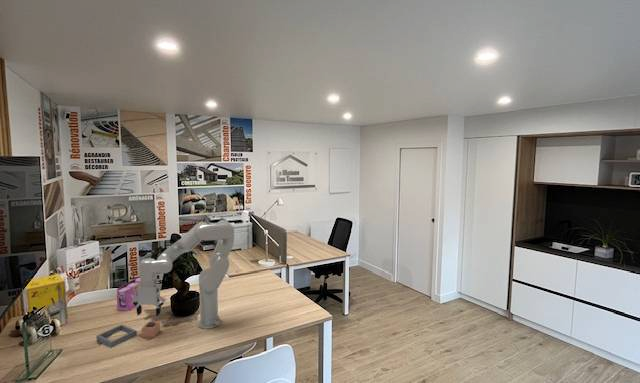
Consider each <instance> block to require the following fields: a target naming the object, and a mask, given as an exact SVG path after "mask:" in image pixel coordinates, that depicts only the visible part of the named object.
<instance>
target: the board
mask: <svg viewBox="0 0 640 383" xmlns="http://www.w3.org/2000/svg"><path fill="white" fill-rule="evenodd" d="M148 322H149V323H148V327H153V324H154V322H155V321H148ZM164 333H165V332H164V331H162V330H160V332H159V333H158V334H157V335H156V336H155V337H142V333H140V334H139V335H138V334H137V336H138V337H140V338H142V339H145V340H147V341H150V340H153V339H155V338H157V337H158V336H161V335H162V334H164Z"/></svg>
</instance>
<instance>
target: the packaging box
mask: <svg viewBox="0 0 640 383" xmlns="http://www.w3.org/2000/svg"><path fill="white" fill-rule="evenodd" d="M30 280H31V281H30V282H29V284H28V285H27V286H26V287H25V289H24V290H23V289H22V299H23V310H24V314H25V313H26V312H31V311H32V310H33V307H36V308H37V309H40V308H42V307H44V306H46V307H45V308H44V309H43V310H46V311H47V312H48V314H49V317H50V319H57V320H59V321H60V323H61V325H62V326H66V325H68V324H69V317H68V304H67V303H68V302H67V289H66V288H67V286H66V281H65V279H64V278H63V277H62V276H61V275H60V274H59V273H57V274H52V275H48V276H43V277H38V278H34V279H30ZM65 324H66V325H65ZM62 326H61V327H62Z"/></svg>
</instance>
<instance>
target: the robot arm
mask: <svg viewBox="0 0 640 383" xmlns="http://www.w3.org/2000/svg"><path fill="white" fill-rule="evenodd" d="M202 241H217V243H216V244H215V245H216V246H215V248H214V250H213V251H212V254H210V257H209V258H208V264H209V268H204V269H203V270H201V272H200V273H199V275H198V287H199V310H200V311H199V312H200V314H199V315H200V317H199V318H200V320H199V321H197V327H198V328H200V329H204V330H208V329H214V328H217V327H218V326H221V324H222V322H223V320H222V319H221V317H220V315H219V302H218V301H219V299H218V298H219V295H218V293H219V292H218V289H219V287H220V285H221V284H222V282H223V280H224V278H225V277H226V275H227V273H228V271H229V267H230V260H229V259H228V258H229V255H230V254H231V251H232V249H233V246H234V244H235V228H234V226H233V225H232V224H231V223H230V222H229V221H228V220H226V219H222V220H219V221H218V222H216V224H209V223H207V222H205V221H199V222H198V223H196V224H195V225H194V226H193V227H192V228H191V229H189V230H188V231H187V232H186V233H185V234H183V236H182V237H181V238H180V239H178V240H177V241H175V242H174V243H172V244H170V246H168V247H167V248H166V249H165V250H164V251H163V252H162V253H161V254H160V255H159V256H157V259H155V258H152V257H151V258H143V259H141V261H140V262H139V276H140V286H139V289H138V296H136V297H134V298H132V299H131V300H132V302H133V304H134V305H135V307H134V308H136V314H137V316H140V315H141V314H142V312H143V310H142V309H143V307H142V305H143V306H144V305H145V306H146V305H147V306H155V316H156V317H158V316H159V315H160V314H161V313H162V310H161V309H162V308H161V307H162V306H163V305H164V304H165V302H166V298H164V297H162V296H161V291H160V286H159V283H160V281H159V280H158V279H157V274H168V273H169V272H171V271H172V269H173V266H174V265H173V262H174V261H175V260H176V259H178V258H179V257H180V256H181V255H183V254H184V253H185V254H186V253H188V252H191V251H192V250H194V249H195V248H196V247H197V246H198V245H199V244H201V242H202ZM136 299H137V301H136ZM160 301H161V302H160Z"/></svg>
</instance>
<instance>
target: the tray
mask: <svg viewBox="0 0 640 383" xmlns="http://www.w3.org/2000/svg"><path fill="white" fill-rule="evenodd" d="M120 331H122V332H124V333H126V334H124V335H122V336H120V337H118V338H116V339H113V340H110V339H109V338H111V337H112V336H113V335H114V334H116V333H118V332H120ZM137 332H138V331H137V330H135V329H134V328H132V327H129V326H126V325H124V324H119V325H117V326H115V327H113V328H110V329H108V330H106V331H104V332H101V333H99V334H96V335H95V336H96V343H97V344H100V345H103V344H104V345H105V346H107V347H108V348H109V347H110V348H113V347H115V346H117V345H120V344H122V343H123V342H126V341H128V340H130V339H132V338H134V337H137V336H138V333H137Z"/></svg>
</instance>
